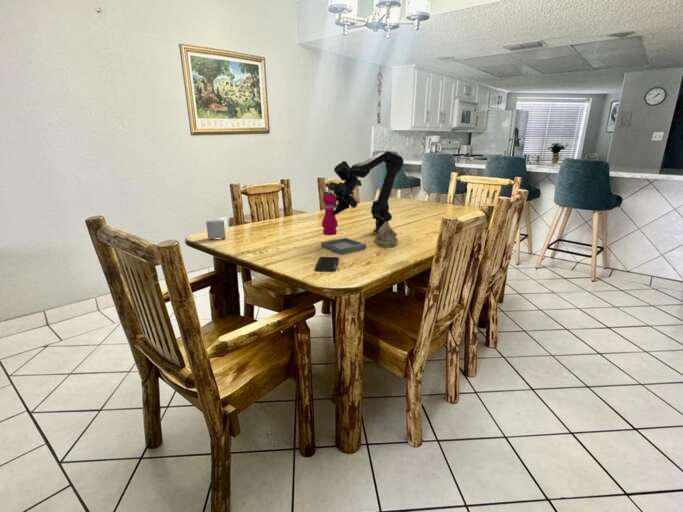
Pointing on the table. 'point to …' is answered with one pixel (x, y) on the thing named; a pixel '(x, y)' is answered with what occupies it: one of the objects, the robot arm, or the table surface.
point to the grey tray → (343, 245)
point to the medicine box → (215, 229)
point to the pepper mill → (329, 214)
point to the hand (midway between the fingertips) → (329, 214)
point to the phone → (327, 264)
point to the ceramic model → (386, 236)
